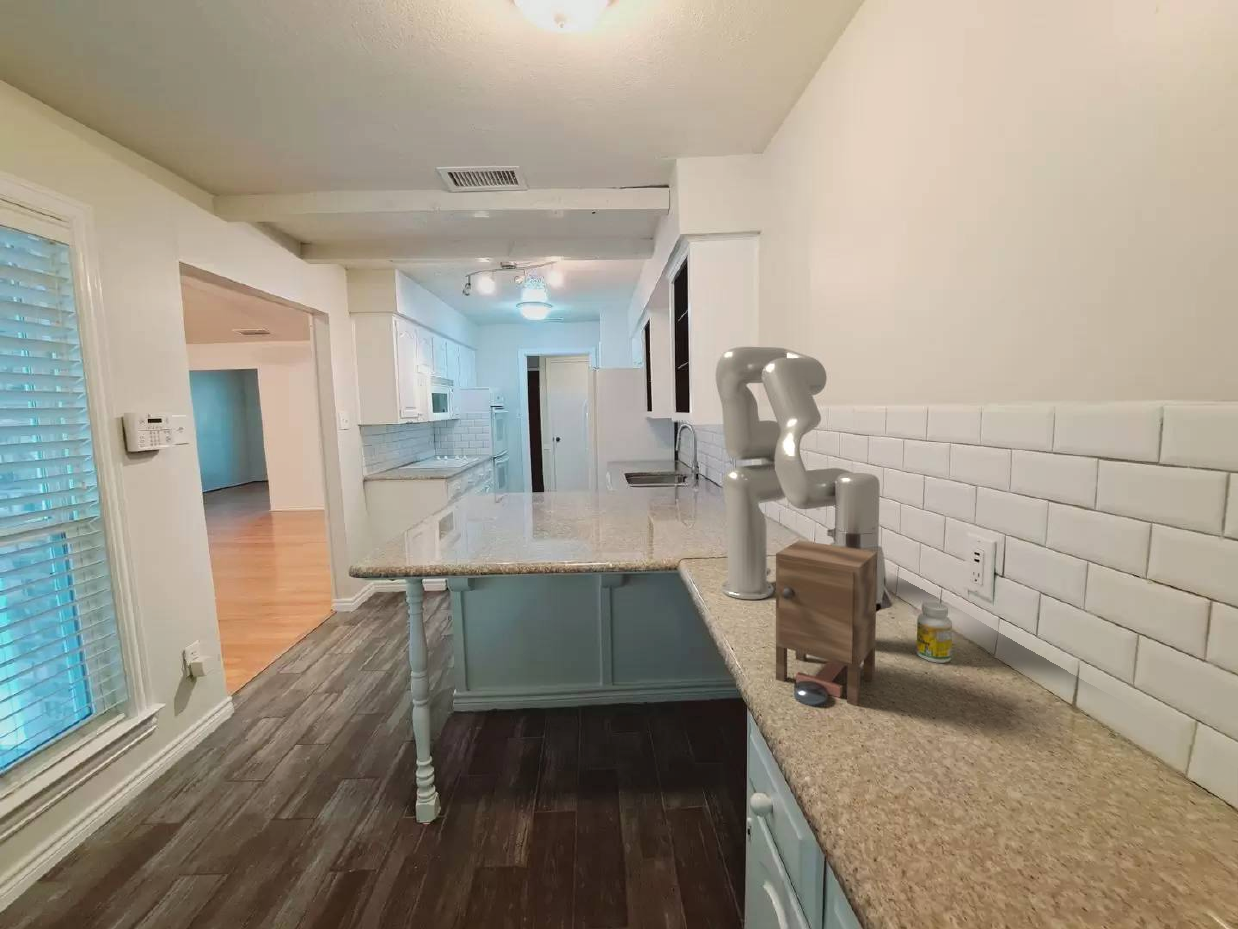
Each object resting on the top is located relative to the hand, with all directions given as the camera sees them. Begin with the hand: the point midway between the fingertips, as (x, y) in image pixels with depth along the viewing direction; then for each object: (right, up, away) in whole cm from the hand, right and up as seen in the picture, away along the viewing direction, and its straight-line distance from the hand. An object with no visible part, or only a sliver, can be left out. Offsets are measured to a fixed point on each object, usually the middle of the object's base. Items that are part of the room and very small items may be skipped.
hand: (854, 631), depth 99 cm
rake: (-6, -3, -6) cm, 9 cm away
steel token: (-15, -5, -17) cm, 23 cm away
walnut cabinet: (-10, -4, -12) cm, 16 cm away
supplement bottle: (+12, -3, -5) cm, 13 cm away
